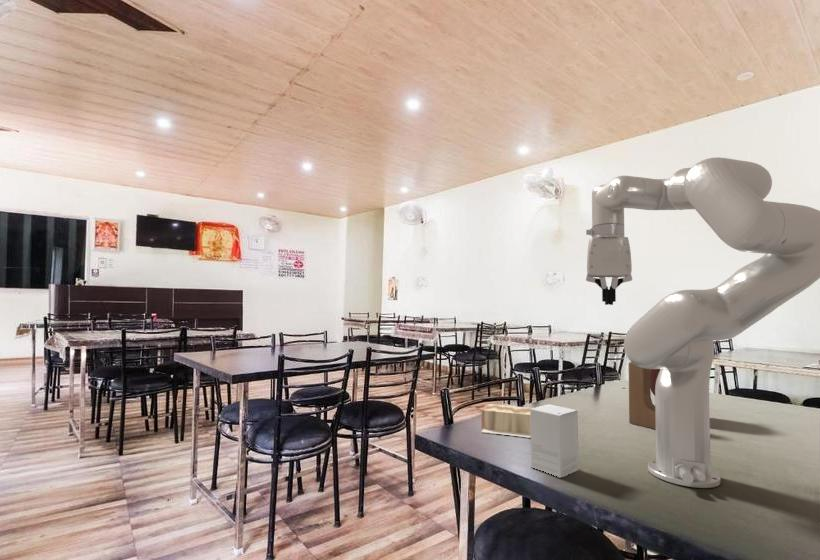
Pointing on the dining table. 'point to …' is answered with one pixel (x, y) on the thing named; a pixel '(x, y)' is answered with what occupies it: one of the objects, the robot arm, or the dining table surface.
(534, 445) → the supplement box
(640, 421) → the wooden block
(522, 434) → the pad
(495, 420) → the ash block
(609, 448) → the dining table surface
